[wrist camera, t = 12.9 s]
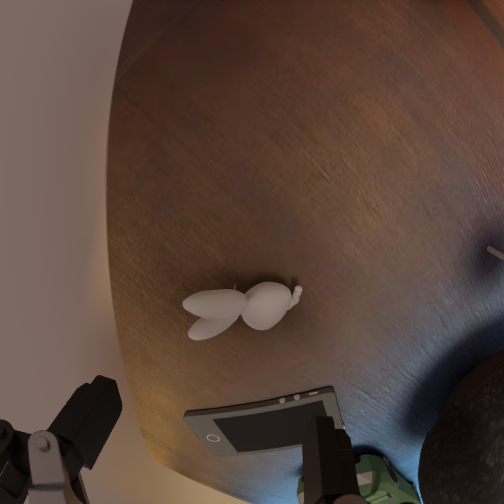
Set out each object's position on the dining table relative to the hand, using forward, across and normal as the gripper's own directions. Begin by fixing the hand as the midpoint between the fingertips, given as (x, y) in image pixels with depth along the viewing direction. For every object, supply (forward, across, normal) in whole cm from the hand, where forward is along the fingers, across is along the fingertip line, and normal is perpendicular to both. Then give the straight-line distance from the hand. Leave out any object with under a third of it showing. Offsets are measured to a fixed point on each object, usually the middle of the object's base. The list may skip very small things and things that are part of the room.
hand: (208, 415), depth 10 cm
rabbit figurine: (+11, 0, 0) cm, 11 cm away
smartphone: (+11, -4, +15) cm, 19 cm away
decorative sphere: (+11, -27, +9) cm, 31 cm away
